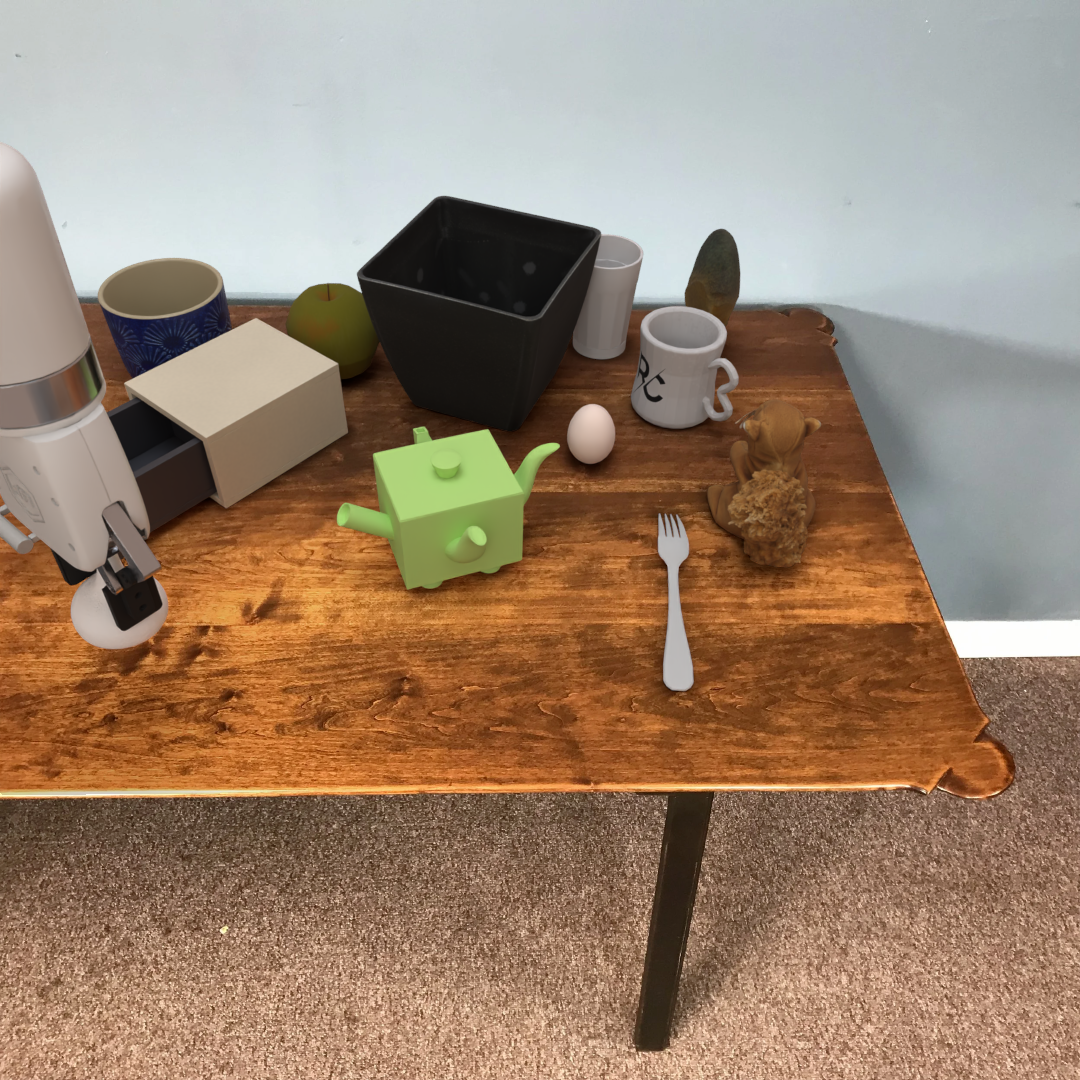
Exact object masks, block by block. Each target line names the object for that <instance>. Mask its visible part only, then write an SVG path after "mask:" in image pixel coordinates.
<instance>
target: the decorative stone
mask: <svg viewBox="0 0 1080 1080" xmlns="http://www.w3.org/2000/svg"><path fill="white" fill-rule="evenodd" d="M740 291H741V264H740V254H739V249H738V245H737V242H736V241H735V238H734V235H732V233H730V231H729V230H727V229H726V228H718V229H717V228H716V229H714V230H713V231H712V232H711V233H710V234H709V235H708V236H707V237H706V238H705V240H704V241H703V243H702V245H701V247H700V248H699V250H698V252H697V255H696V257H695V261H694V264H693V267H692V269H691V272H690V275H689V278H688V282H687V285H686V287H685V290H684V304H685V307H691V308H696V309H699V310H703V311H705V312H707V313H710V314H712V315H713V316H715V317H716V318H718V319H719V320H720V321H721V322H722V323H723V324H724V326H725V327H726V326H727V325H729V320H730V317H731V315H732V313H733V311H734V308H735V306H736V305H737V302H738V300H739V298H740Z"/></svg>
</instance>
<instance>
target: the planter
mask: <svg viewBox="0 0 1080 1080" xmlns="http://www.w3.org/2000/svg"><path fill="white" fill-rule="evenodd" d="M97 301H98V304H99V306H100V308H101V311H102V314H103V317H104V319H105V322H106V324H107V327H108V330H109V332H110V335H111V337H112V340H113V343H114V345H115V347H116V350H117V351H118V354H119V357H120V359H121V361H122V363H123V365H124V367H125V369H126V371H127V373H128V374H129V375H130V377H131V379H133V378H135V377H137V376H139V375H141V374H143V373H145V372H147V371H149V370H151V369H153V368H155V367H157V366H160V365H162V364H164V363H166V362H168V361H170V360H172V359H174V358H176V357H178V356H180V355H182V354H184V353H186V352H188V351H190V350H192V349H194V348H196V347H198V346H200V345H202V344H204V343H206V342H208V341H210V340H212V339H214V338H216V337H218V336H220V335H223V334H225V333H227V332H229V331H231V330H233V329H232V328H233V327H232V319H231V314H230V309H229V305H228V304H229V303H228V300H227V294H226V289H225V285H224V279H223V276H222V274H221V272H219V270H217V268H215V267H214V266H212V265H210V264H208V263H206V262H203V261H200V260H196V259H191V258H185V257H161V258H154V259H149V260H143V261H139V262H136V263H133V264H131V265H128V266H126V267H125V266H124V267H122V268H120V269H119V270H117V271H115V272H114V273H112V274H110V276H108V277H106V279H105V280H104V281H103V282H102V283H101V284H100V286H99V288H98V291H97Z"/></svg>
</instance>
